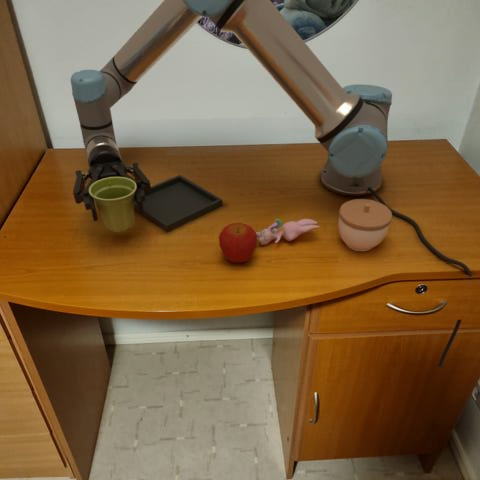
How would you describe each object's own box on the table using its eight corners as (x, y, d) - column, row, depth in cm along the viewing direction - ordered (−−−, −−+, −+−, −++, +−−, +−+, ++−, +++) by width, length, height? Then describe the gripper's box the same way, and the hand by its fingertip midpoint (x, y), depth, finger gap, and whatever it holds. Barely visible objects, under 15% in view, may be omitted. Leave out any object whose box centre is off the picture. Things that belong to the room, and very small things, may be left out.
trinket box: (384, 260, 100) (395, 222, 94) (332, 254, 102) (339, 216, 95) (384, 232, 108) (393, 194, 101) (336, 226, 109) (342, 189, 103)
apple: (255, 246, 104) (256, 215, 98) (257, 269, 98) (258, 237, 93) (219, 247, 104) (218, 215, 98) (219, 270, 98) (218, 238, 92)
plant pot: (100, 213, 106) (92, 177, 100) (143, 211, 106) (137, 175, 100) (94, 237, 99) (85, 200, 93) (140, 235, 100) (134, 198, 94)
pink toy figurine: (256, 256, 103) (323, 239, 104) (252, 234, 99) (322, 216, 100) (250, 240, 108) (314, 223, 108) (246, 217, 103) (313, 200, 104)
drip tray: (222, 205, 116) (222, 199, 114) (167, 232, 107) (166, 226, 106) (180, 180, 124) (179, 174, 123) (125, 203, 116) (124, 197, 115)
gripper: (152, 168, 116) (172, 218, 100) (61, 181, 111) (67, 236, 96) (148, 138, 110) (168, 185, 95) (52, 150, 106) (57, 202, 90)
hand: (118, 211), depth 95 cm, fingers closed on plant pot, 8 cm apart
